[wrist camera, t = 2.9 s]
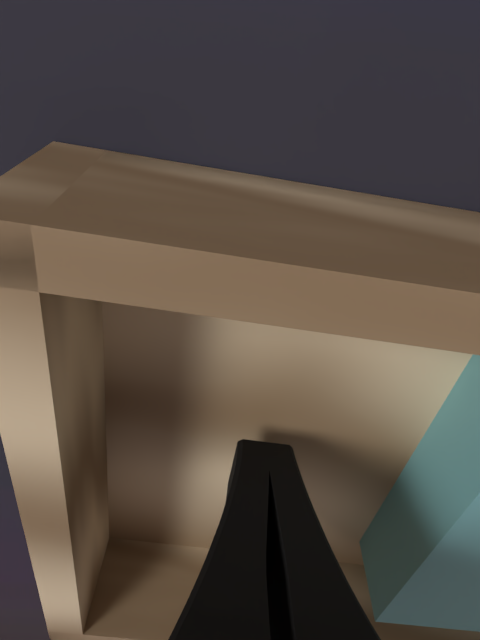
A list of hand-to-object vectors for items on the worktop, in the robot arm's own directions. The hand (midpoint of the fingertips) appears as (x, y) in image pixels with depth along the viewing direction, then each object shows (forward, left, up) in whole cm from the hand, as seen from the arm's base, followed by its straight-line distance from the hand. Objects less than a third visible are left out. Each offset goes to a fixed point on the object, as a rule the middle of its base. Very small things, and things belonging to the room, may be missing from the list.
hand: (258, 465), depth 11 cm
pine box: (0, -2, -1) cm, 2 cm away
